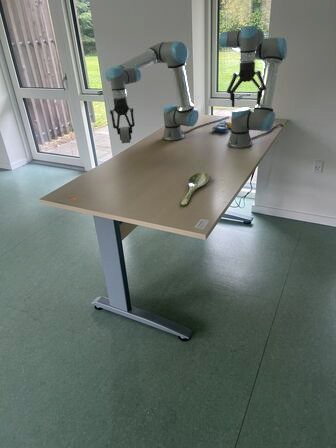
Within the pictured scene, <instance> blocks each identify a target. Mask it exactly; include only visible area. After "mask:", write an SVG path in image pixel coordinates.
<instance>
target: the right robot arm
mask: <svg viewBox="0 0 336 448" xmlns="http://www.w3.org/2000/svg"><path fill="white" fill-rule="evenodd" d="M219 46H220V47H221V48H222V49H227V48H229V49H232V50H234V51H237V52H239V72H238V73H236V72H233V74H232V78H231V81H230V83H229V85H228V87H227V89H226V93H227V94H229V100H230V101H231V107H232V108H235V98H236V97H235V96H236V95H235V92H236V90H237V89H238V88H239V86H240V85H241V84H243V83H246V82H249V83H250V82H252V84H253V85H255V87H256V88H257V93H256V94H257V95H256V104H257V105H255V106H254V107H253V108H254V109H253V110H251V108H250V107H241V108H236V109H234V110H232V111H231V118H230V120H231V121H230V122H231V128H230V135H229V139H228V140H227V146H228V147H229V148H234V149H244V148H249V147H251V145H252V140H254V139H256V138H258V137H261V136H263V135H266V134H268V133H270V132H271V131H272V130H273V129H275V128H277V127H279V126H283V123H282V124H281V123H278V124H276V125H275V126H274V123H275V120H276V112H275V111H274V108H273V106H272V105H273V100H274V93H275V88H276V83H277V79H278V72H279V66H280V65H282V63H283V60H286V58H287V55H288V45H287V40H286V38H285V37H278V36H277V37H266V38H265V32H263V30H261V29H260V28H258V27H257V25H246V26H242V27H241V28H240V30H232V31H231V30H229V31H228V30H227V31H222V32H221V33H220V35H219ZM256 60H257V61H262V64H263V69H262V71H261V70H257V71H255V69H256V62H255V61H256ZM255 76H257V79H258V80H259V83H260V84H259V83H258V82H257V80H256V79H255V78H254V77H255ZM237 78H239V79H238V80H237ZM236 80H237V81H236ZM235 82H236V83H235ZM234 84H235V85H234ZM250 131H259V132H264V133H260V134H258V135H255V136H253V137H251V135H250Z"/></svg>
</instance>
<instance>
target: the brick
mask: <svg viewBox="0 0 336 448" xmlns="http://www.w3.org/2000/svg"><path fill="white" fill-rule="evenodd" d="M119 128H120V134H121V140H120V141H121V144H130V143H131V140H132V138H131V139H130V135H129V129H128V128H129V125H128V126H120V127H119ZM120 134H119V135H120Z"/></svg>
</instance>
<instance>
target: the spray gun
mask: <svg viewBox="0 0 336 448" xmlns="http://www.w3.org/2000/svg"><path fill="white" fill-rule="evenodd" d="M230 129H231V121H228V122H227V121H226V120H220V121H218V122H216V124H215V125H214V126H213V127H212V130H211V131H213V132H214V133H216V132H217V133H228V132H229V130H230Z"/></svg>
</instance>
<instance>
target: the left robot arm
mask: <svg viewBox="0 0 336 448" xmlns="http://www.w3.org/2000/svg"><path fill="white" fill-rule="evenodd" d="M188 57H189V50H188V47H187V45H186V44H185V43H184V42H182V41H177V40H176V41H175V40H174V41H161V42H159V43H156V44H154V45H152V46H150V47H148V48H146V49H145V51H143V52H142V53H141V54H138V55H137V56H135V57H132V58H131V59H129V60H126V61H124V62H123V63H121V64H119V65H117V66H112V67H107V69H106V70H105V72H104V73H105V74H104V76H105V79H106V80H107V81H108V82H109V83H110V87H111V93H112V98H113V99H112V100H113V109H110V110H109V113H110V116H111V121H112V122H111V123H112V128H113V129H116V132H117V135H119V140H120V141H121V134H120V128H121V127H120V122H121V121H120V120H121V116H125V120H126V122H127V125H128V126H129V128H128V129H129V135H130V139H131V140H132V134H133V128H134V127H135V125H136V123H135V115H134V107H130V106H129V102H128V98H127V90H126V88H127V87H126V85H129V84H133V83H134V84H135V83H137V82H139V81H141V78H142V72H141V70H143V69H145V68H147V67H148V66H150V65H151V66H153V65H157V64H166V65H167V69H169V70H170V72H171V77H172V83H173V86H174V91H175V96H176V101H177V104H171V105H166V106H165V107H163V113H162V114H163V123H164V130H163V135H162V139H163V140H164V141H167V142H176V141H180V140H182V139H184V137H185V136H184V134H187V133H189V132H191V131H193V130H195V129H198V128H200V127H203V126H207V125H209V124H213V123H218V122H219V121H224V120H225V119H229V118H230V116H226V117H223V118H220V119H217V120H213V121H210V122H206V123H203V124H199V125H198V126H195V125H196V124H197V123H198V121H199V116H200V113H199V111H198V110H197V109H196V108H195V107H194V104H193V103H192V102H191V96H190V92H189V91H190V90H189V85H188V80H187V74H186V70H185V67H186V65H187V61H188ZM128 111H129V112H130V116H129V115H128ZM115 113H116V114H117V119H116V117H115ZM129 117H130V118H131V120H130V118H129ZM182 126H184V127H191V128H190V129H188V130H187V131H183V129H182ZM194 126H195V127H194Z"/></svg>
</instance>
